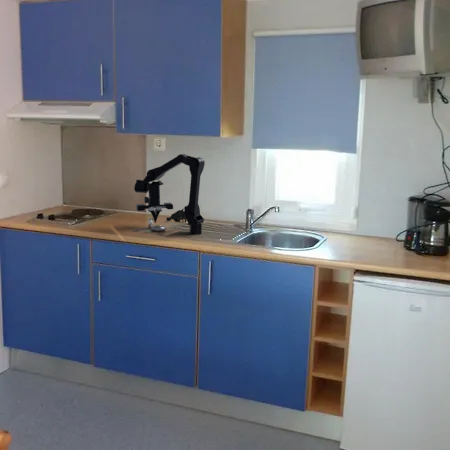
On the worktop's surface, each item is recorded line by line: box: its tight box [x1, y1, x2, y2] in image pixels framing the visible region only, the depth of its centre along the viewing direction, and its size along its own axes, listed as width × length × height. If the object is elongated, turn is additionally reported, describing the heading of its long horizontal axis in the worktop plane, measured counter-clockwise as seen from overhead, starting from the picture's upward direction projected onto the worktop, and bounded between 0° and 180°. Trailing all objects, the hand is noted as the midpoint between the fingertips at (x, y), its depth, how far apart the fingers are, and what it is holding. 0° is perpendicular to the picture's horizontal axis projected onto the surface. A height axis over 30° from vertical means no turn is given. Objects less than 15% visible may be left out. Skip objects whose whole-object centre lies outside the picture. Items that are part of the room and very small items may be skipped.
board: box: [129, 225, 182, 237], centre depth 279 cm, size 22×16×1 cm
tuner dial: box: [147, 217, 167, 232], centre depth 279 cm, size 12×7×5 cm, turn 44°
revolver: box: [165, 208, 187, 224], centre depth 306 cm, size 3×18×12 cm
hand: (155, 222), depth 284 cm, fingers closed
